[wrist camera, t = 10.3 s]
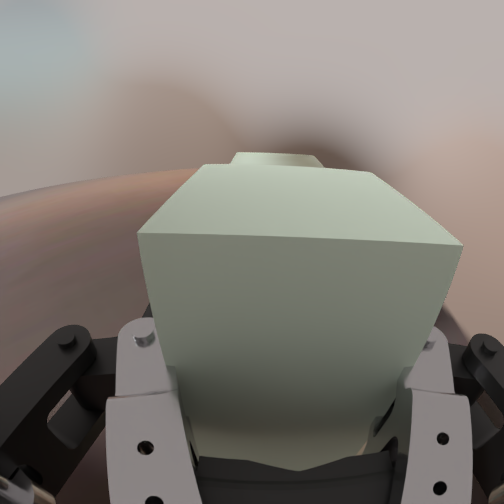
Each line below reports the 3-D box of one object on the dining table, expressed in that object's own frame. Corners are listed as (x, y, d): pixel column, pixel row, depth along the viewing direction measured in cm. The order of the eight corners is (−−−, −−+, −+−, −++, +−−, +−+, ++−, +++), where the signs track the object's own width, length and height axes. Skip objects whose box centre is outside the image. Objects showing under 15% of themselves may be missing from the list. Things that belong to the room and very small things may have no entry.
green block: (205, 478, 9) (136, 232, 4) (219, 384, 13) (204, 164, 8) (335, 479, 8) (463, 245, 4) (324, 386, 13) (370, 172, 8)
